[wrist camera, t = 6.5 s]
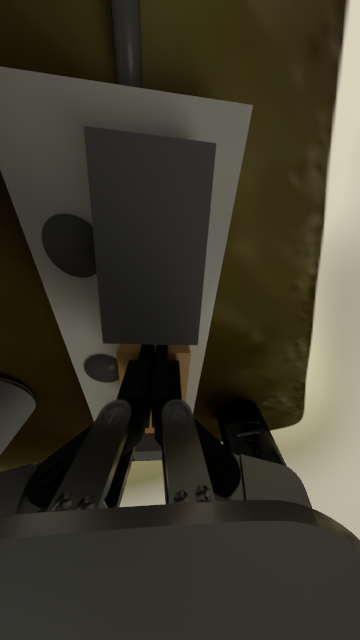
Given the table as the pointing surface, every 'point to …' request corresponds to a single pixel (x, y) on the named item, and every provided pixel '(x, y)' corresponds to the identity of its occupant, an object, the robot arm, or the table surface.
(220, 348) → the table surface
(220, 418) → the supplement bottle
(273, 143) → the table surface
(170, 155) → the block
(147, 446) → the block
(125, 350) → the rocker
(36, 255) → the power strip
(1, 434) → the can
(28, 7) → the table surface
